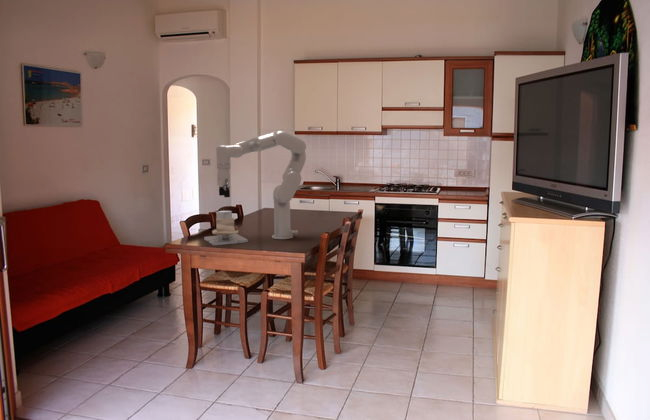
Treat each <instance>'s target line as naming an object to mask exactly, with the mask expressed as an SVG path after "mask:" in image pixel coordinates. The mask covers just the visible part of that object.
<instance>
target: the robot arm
mask: <svg viewBox="0 0 650 420" xmlns="http://www.w3.org/2000/svg"><path fill="white" fill-rule="evenodd" d="M277 146H280V147H282V148H285V149H286V150H289V151H290V153H291V158H290V161H289V163H288V164H287V166H286V167H285V170H284V172H283V174H282V182H281V184H279V185H277V186H275V188H274V189H273V193H272V198H273V199H272V200H273V221H274V222H273V223H274V227H273V228H274V229H273V230H274V234H272V235H271V238H272V239H273V240H274V239H275V240H290V239H293V238H294V234H298V233H299V231H298V230H297V229H296V230H295V229H293V230H292V229H291V203H290V202H291V201H292V199H293V198H294V196H295V194H296V192H297V191H298V188H299V186H300V184H301V181H302V176H301V175H302V174H301V173H302V171H303V168H304V166H305V163H306V159H307V155H306V154H307V153H306V150H307V145H306V142H305V141H304V140H303V139H301V138H298V137H297V136H294V135H293V134H291V133H289V132H287V131H285V130H275V131H272V132H268V133H265V134H262V135H259V136H255V137H253V138H250V139H247V140H244V141H240V142H237V143H235V144H231V145H228V144H219V145H216V150H215V151H216V170H217V172H216V173H217V176H216V177H217V180H216V182H217V186H218V195H219V196H223V198H230V197H231V186H230V185H231V179H230V170H231V158H236V159H238V158H241V157H242V156H244V155H247V154H250V153H256V152H262V151H266V150H269V149H271V148H274V147H277Z"/></svg>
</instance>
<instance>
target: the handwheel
mask: <svg viewBox="0 0 650 420" xmlns="http://www.w3.org/2000/svg"><path fill="white" fill-rule="evenodd" d="M215 222H216V224H215V225H216V226H215V227H216V228H215V229H213V230H212V231H211V232H212V235H214V236H219V235H222V238H229V235H232V234H238V233H239V229H238V228H239V227H238V226H235V217H232V218H219V219H217V218H216V219H215Z"/></svg>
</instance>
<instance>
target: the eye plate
mask: <svg viewBox="0 0 650 420" xmlns="http://www.w3.org/2000/svg"><path fill="white" fill-rule="evenodd" d="M203 239H204V241H206V242H208V243H209V244H211V245H212V246H222V245H232V244H242V243H248V241H249V239H247V238H245V237H244V236H242V235H239V234H238V233H237V234H232V235H229V238H222V235H212V236H211V235H209V236H204V238H203Z"/></svg>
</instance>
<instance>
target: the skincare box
mask: <svg viewBox="0 0 650 420" xmlns="http://www.w3.org/2000/svg"><path fill="white" fill-rule="evenodd" d="M215 213H216V219H219V218H233V215H232V213H233V211H232V210H219V211H216V212H215Z"/></svg>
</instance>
